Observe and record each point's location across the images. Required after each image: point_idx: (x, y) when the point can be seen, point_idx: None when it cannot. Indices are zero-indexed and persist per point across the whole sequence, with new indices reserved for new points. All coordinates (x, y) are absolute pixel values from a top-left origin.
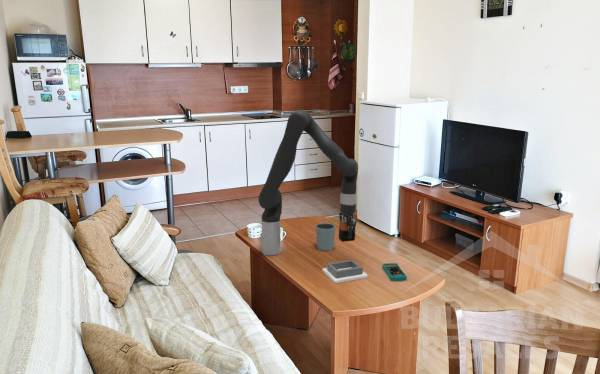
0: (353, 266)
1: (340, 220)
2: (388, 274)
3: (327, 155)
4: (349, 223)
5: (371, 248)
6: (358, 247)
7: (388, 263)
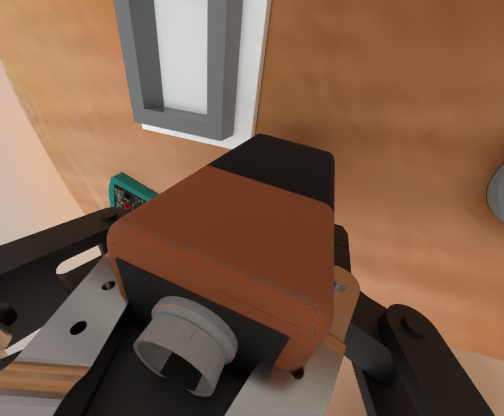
0: (193, 115)
1: (447, 402)
2: (137, 188)
3: None
4: None
5: None
6: (384, 284)
7: None
